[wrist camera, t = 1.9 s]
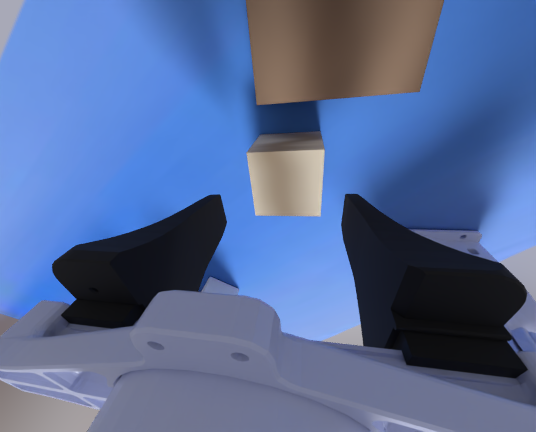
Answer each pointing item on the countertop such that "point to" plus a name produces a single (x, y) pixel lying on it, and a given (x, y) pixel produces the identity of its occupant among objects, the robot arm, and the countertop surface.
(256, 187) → the maple cube
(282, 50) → the walnut block
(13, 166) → the countertop surface
